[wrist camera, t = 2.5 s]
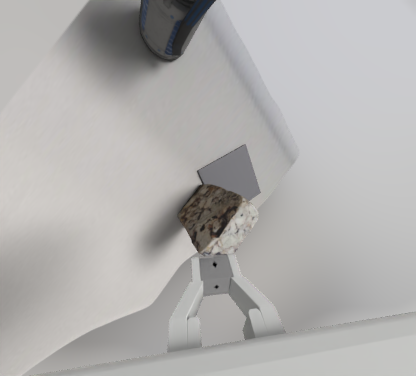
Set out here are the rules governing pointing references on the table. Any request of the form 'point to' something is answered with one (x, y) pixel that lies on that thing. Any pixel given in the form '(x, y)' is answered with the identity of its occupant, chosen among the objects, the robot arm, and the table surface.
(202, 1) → the grey blue tall cylinder
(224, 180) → the mat
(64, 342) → the table surface
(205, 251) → the stone block
